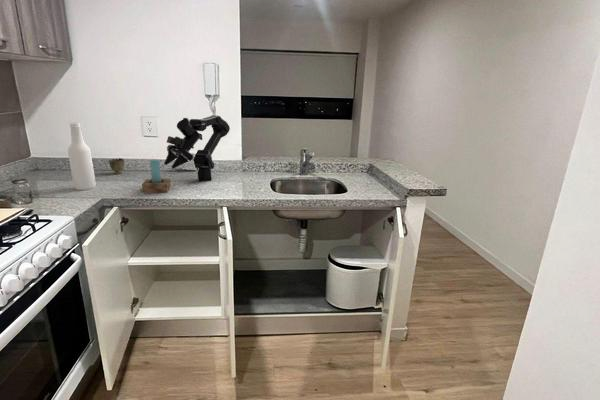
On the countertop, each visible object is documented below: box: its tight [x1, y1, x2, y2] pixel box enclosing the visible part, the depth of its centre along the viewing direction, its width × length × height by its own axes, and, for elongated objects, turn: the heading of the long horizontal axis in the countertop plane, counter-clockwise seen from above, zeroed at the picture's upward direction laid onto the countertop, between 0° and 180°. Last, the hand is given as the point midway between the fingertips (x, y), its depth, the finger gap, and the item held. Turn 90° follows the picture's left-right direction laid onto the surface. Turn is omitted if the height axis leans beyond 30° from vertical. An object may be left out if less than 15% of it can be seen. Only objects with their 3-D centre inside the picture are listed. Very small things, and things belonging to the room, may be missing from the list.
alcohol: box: [67, 122, 97, 191], centre depth 158 cm, size 9×9×30 cm
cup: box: [108, 157, 125, 175], centre depth 190 cm, size 8×7×8 cm
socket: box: [141, 178, 172, 194], centre depth 163 cm, size 11×11×4 cm
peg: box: [149, 158, 162, 183], centre depth 161 cm, size 4×4×14 cm
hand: (168, 166), depth 164 cm, fingers open, 9 cm apart
